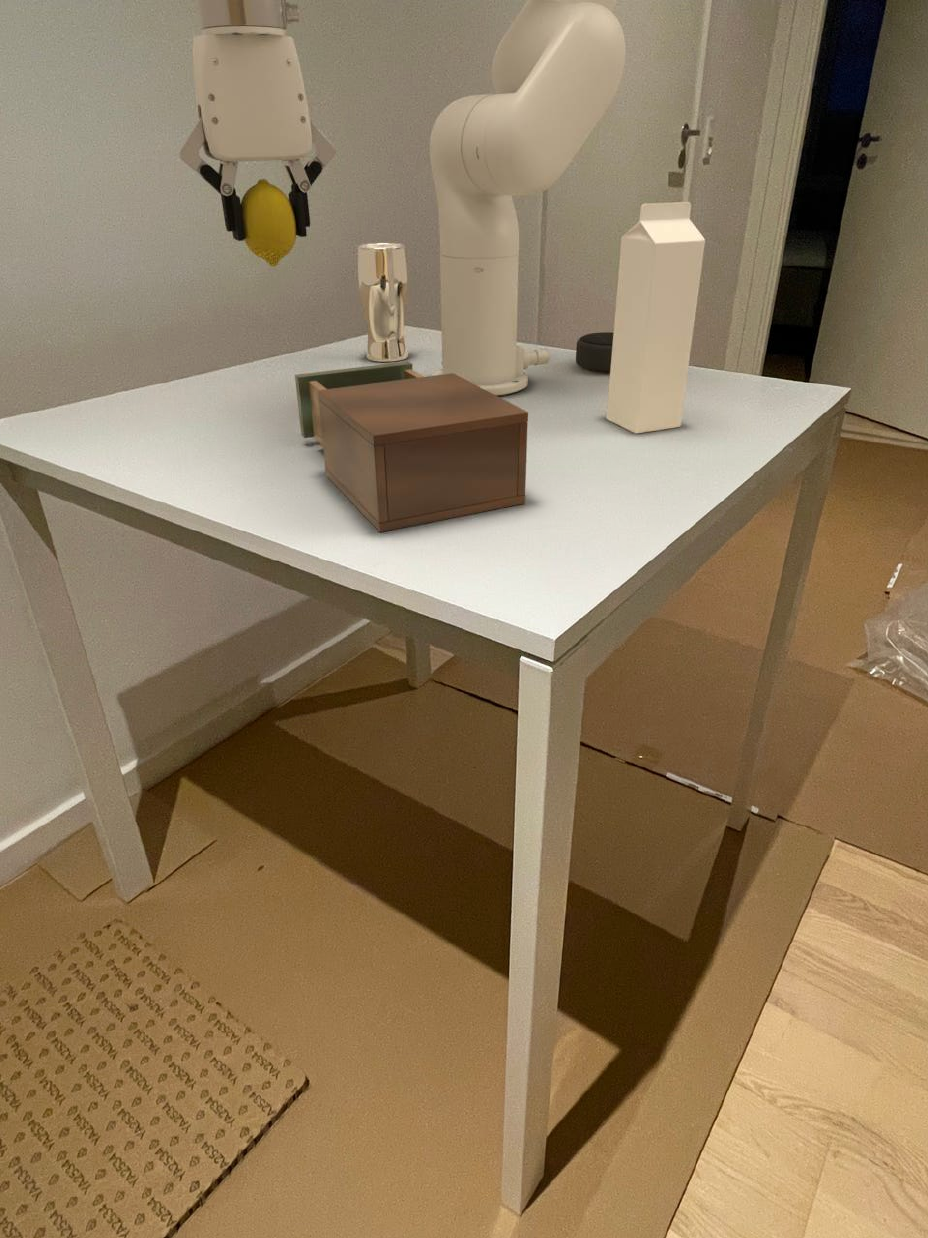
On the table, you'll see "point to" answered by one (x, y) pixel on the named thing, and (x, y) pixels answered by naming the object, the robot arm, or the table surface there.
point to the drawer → (336, 379)
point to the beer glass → (384, 299)
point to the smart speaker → (595, 352)
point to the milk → (654, 318)
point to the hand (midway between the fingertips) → (269, 235)
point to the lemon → (268, 222)
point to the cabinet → (423, 449)
